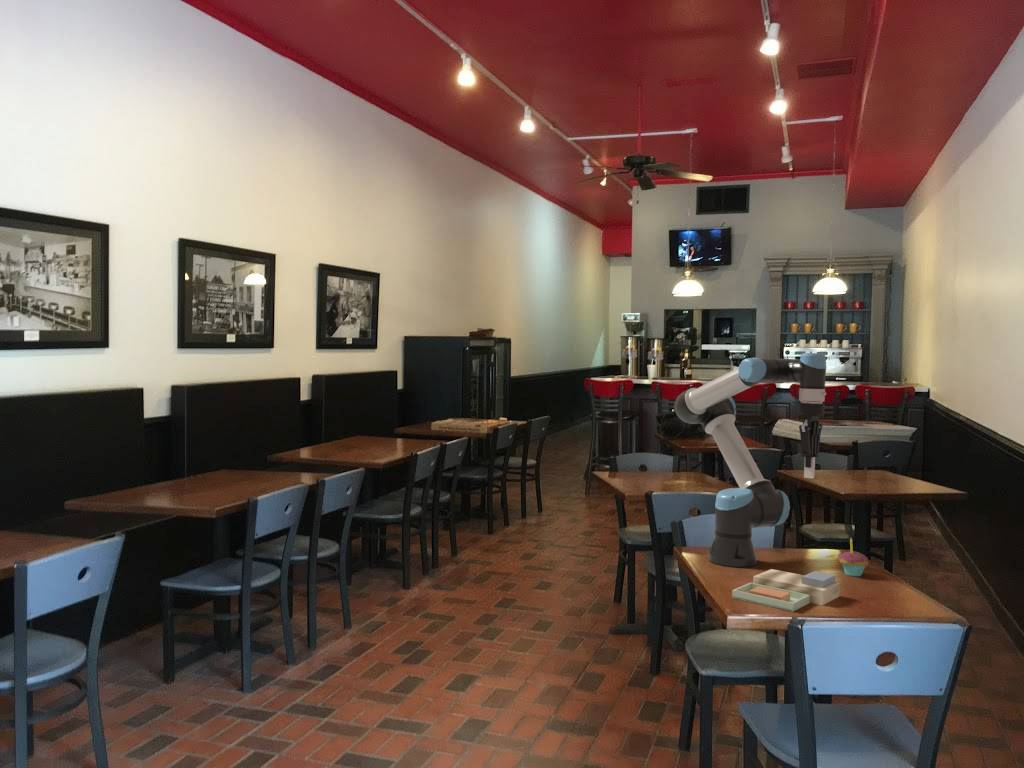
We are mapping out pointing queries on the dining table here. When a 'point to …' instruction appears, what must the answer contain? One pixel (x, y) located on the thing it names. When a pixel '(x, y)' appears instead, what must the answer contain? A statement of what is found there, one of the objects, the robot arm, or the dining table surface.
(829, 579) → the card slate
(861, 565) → the cupcake
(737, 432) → the robot arm
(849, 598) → the dining table surface
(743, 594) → the tray
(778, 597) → the orange flat block
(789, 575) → the beige flat box
